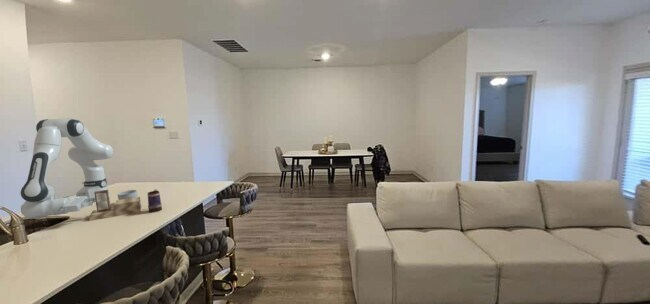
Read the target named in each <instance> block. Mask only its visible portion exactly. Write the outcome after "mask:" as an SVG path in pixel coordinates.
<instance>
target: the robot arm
mask: <svg viewBox="0 0 650 304" xmlns="http://www.w3.org/2000/svg"><path fill="white" fill-rule="evenodd" d="M35 130H36V135H35V139H34V143H33V148H32V149H33V152H32V157H31V158H32V159H31V162H30V166H29V172H28V174H27V175H28V176H27V179H26V181H25V183H24V185H23V186H22V188H21V190H20V196H21V198H22V199H23V200H24V203H23V204H21V206H20V212H21V214H22V215H23V217H25V218H27V219H37V218H38V219H40V218H45V217H49V216H59V215H64V214H65V215H66V214H68V213H73V212H79V211H81V209H84V208H87V207H90V206H91V207H93V204H94V203H96V200H95V194H94V192H95V191H102V190H108V193H109V199H111V198H112V196H111V194H110V192H109V188H108V185H107V183H108V182H107V178H106V175H105V168H104V167H103V166H102V165H100V164H97V163H96V162H95V161H103V160H107V159H108V160H109V159H111V158H112V157H113V156H114V149H113V147H112V146H111V145H110V144H107V143H103V142H101V141H99V140H97V139H96V138H95V137H94V136H93V135H91V133H90V131H89V130H88V128H87V127H86V126H85V125H84V123H83V122H81V120H79V119H78V118H75V117H68V118H53V119H51V118H50V119H48V118H47V119H41V120H39V121H38V122H37V124H36V126H35ZM62 138H67V139H68V141H70V142H71V144H72V145H73V146H71V147H70V148H69V150H68V153H67V156H68V157H69V159H70V160H71V161H73V162H75V163H77V164H78V165H79V166H80V168H81V169H82V171H83V175H84V181H82V183H81V184H82V185H83V187H81V188H80V189H79V190H78V191H76V194H75V196H70V195H69V196H64V197H61V198H55V196H56V190H55V187H54V186H52V185H51V184H47V183H46V176H47V171H48V167H49V165H50V164H52V163H53V162H54V161H56V160H58V159H59V158H60V155H61V151H62Z"/></svg>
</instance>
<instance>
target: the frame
mask: <svg viewBox="0 0 650 304" xmlns="http://www.w3.org/2000/svg"><path fill="white" fill-rule="evenodd" d="M108 191H109V189H108V190H102V191H95V192H94V194H95V200H96V202H95V207H96V210H97V213H98V212H104V211H110V210H111V208H112V207H111V201H110V200H111V198H109V194H110V192H109V193H108Z"/></svg>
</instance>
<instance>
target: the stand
mask: <svg viewBox="0 0 650 304" xmlns="http://www.w3.org/2000/svg"><path fill="white" fill-rule="evenodd" d="M141 200H142V199H141V196H137V197H136V198H129V199H122V200H119V199H118V200H116V201H115V203H114V206H113V207H111V210H110V211H104V212H98V213H97V209H93V210H92V211H91V212H90V214H89V221H96V220H102V219H108V218H113V217H114V218H115V217H118V216H125V215H130V214H138V213H141V210H142V203H141V202H142V201H141Z"/></svg>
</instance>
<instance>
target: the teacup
mask: <svg viewBox="0 0 650 304" xmlns="http://www.w3.org/2000/svg"><path fill="white" fill-rule="evenodd" d="M116 195H117V199H118V200H122V199H129V198H136V197H138V192H137V190H136V189H129V190H124V191H121V192H119V193H117V194H116Z"/></svg>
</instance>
